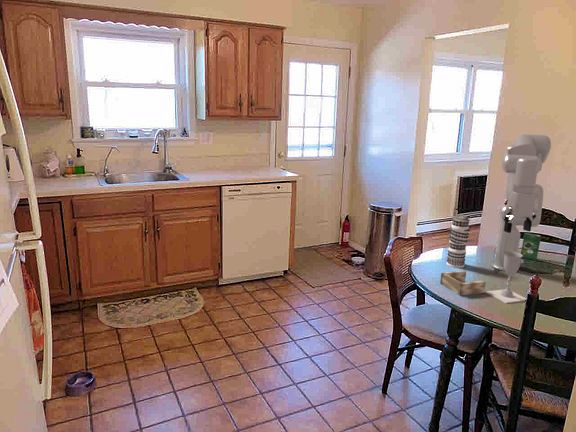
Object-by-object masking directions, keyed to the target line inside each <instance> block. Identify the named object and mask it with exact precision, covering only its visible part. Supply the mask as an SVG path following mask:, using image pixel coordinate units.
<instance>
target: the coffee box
mask: <svg viewBox="0 0 576 432" xmlns="http://www.w3.org/2000/svg"><path fill="white" fill-rule="evenodd" d="M541 239H542V235H541V234H540V235H539V234H534V233H529V232H524V235H523V239H522V245H521V250H520V254H522V255H523V256H522V257H521V258H522V259H523V258H524V259H529V260H535V261H537V259H538V253H539V250H540V249H539V248H540V244H541Z"/></svg>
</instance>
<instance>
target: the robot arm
mask: <svg viewBox="0 0 576 432" xmlns="http://www.w3.org/2000/svg"><path fill="white" fill-rule="evenodd" d="M551 148H552V142H551V139H550V137H549V136H547V135H546V134H545V135H542V134H520V135H519V136H517V137H516V138H515V140H514V141H513V144H511V145H508V146H507V147H506V148H505V151H504V154H503V156H502V164H501V167H502V170H503V172H505V173H507V181H506V189H505V198H506V200H507V203H506V204H504V205H502V206H501V208H500V210H499V229H498V230H499V231H498V236H497V242H496V243H497V244H496V251H495V258H494V261H491V262H490V266H491V267H492V268H494V269H495V270H498V271H499V270H500V271H503V272H506V271H505V268H504V257H505V254H504V252H506V251H511V252H517V253H519V249H520V241H521V231H520V230H519V228H517V226H519V227H520V226H521V227H523V228H522V229H523V230H524V231H526V232H531V231H532V228H536V227H538V226H539V225H540V223H541V218H542V210H543V202H544V188H543V186H542V185H541V184H536V183H537V177H538V174H539V172H541V171H542V168H543V164H544V163H545V162H546V161H547V158H548V157H549V154H550V151H551ZM524 261H525V260H524V259H523V258H521V261H520V264H524V263H525V262H524ZM519 270H520V268H519V269H518V270H517V272H518V271H519Z"/></svg>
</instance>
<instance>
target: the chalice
mask: <svg viewBox="0 0 576 432" xmlns="http://www.w3.org/2000/svg"><path fill="white" fill-rule="evenodd" d="M504 254H505V257H504V268H505V271H504V272H505V274H506V275H507V276H508V278H507V282H506V288H503V289H504V290H503V289H502V290H503V291H502V293H501V294H500V295H502V296H504V297H508V298H512V297H514V296H513V293H512V292H513V291H512V289H510V286H511V285H512V284H511V282H512V277H514V276H515V274H516V273H517V272H518V271H519V270H520V266H521V263H520V261H521V259H522V258H523V257H522V256H523V255H522V254H521V252H518V253H517V252H511V251H506V252H504ZM518 269H519V270H518ZM517 270H518V271H517Z"/></svg>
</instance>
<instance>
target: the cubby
mask: <svg viewBox="0 0 576 432" xmlns="http://www.w3.org/2000/svg"><path fill="white" fill-rule="evenodd" d="M466 277H467V271H466V270H458V271H457V270H455V271H446V272H441V274H440V280H439V281H440V285H442V286H444V287H446V288H447V289H449V290H450V291H452V292H453V293H455V294H457V295H458V296H467V295H469V296H470V295H476V294H477V295H478V294H483V293H485V287H486V282H487V281H485V280H477V281H468V282H466Z"/></svg>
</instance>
